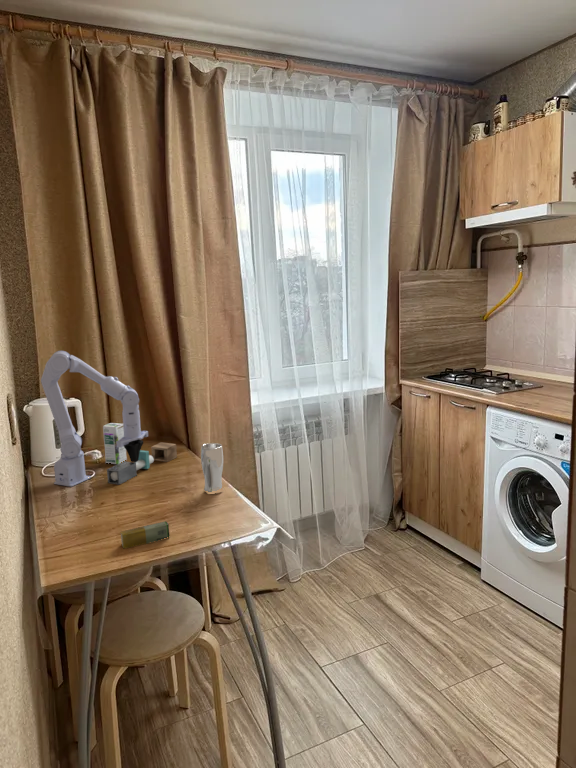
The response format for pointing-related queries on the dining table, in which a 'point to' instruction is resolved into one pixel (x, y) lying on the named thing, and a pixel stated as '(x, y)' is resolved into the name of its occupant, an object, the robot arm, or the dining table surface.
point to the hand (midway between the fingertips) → (134, 461)
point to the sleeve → (122, 472)
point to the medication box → (144, 534)
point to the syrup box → (113, 443)
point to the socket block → (164, 452)
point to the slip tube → (139, 463)
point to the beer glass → (212, 466)
